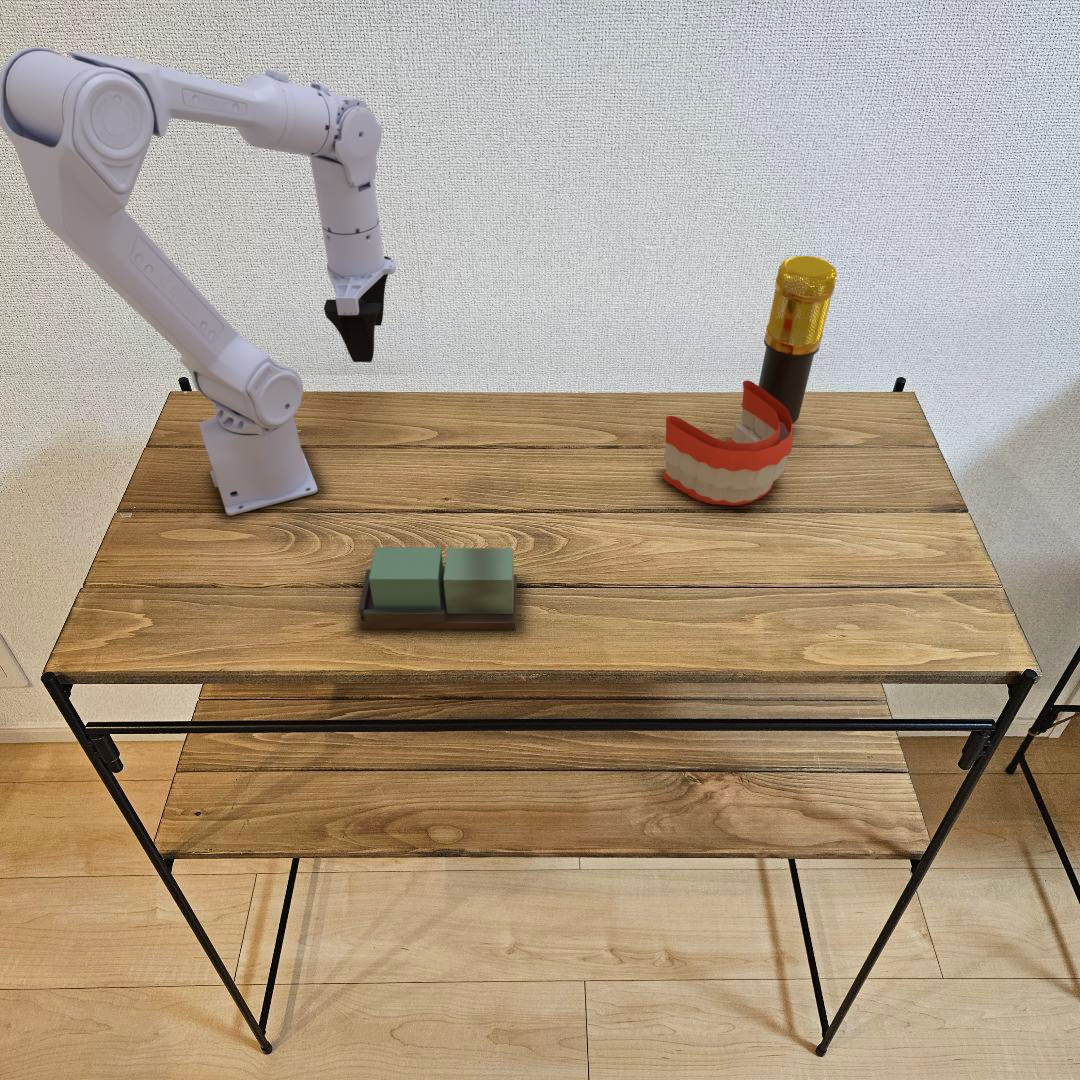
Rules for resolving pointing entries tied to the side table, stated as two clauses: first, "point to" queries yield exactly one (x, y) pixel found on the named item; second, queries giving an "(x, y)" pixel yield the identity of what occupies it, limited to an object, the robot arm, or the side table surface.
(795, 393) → the black gold cylinder
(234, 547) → the side table surface
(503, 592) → the dark brown tray
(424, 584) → the block
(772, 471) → the toy
